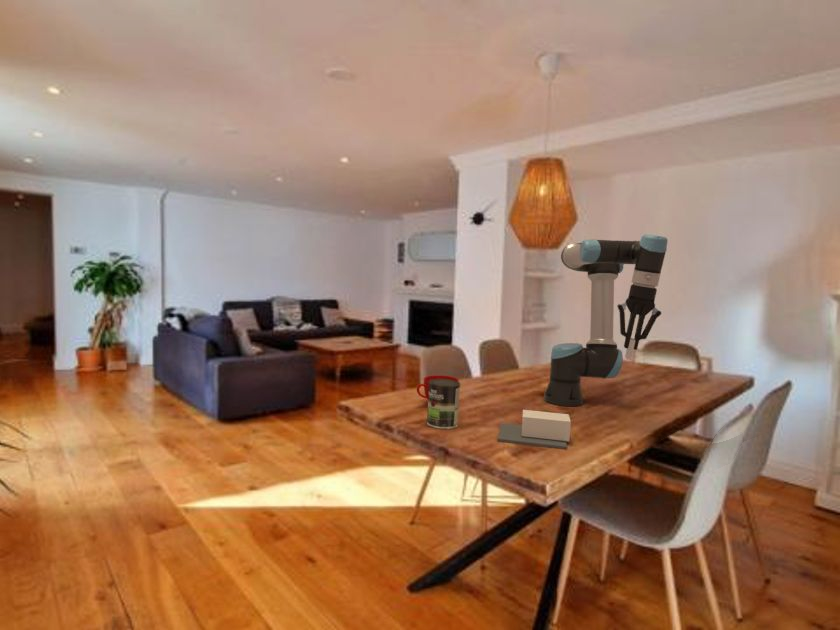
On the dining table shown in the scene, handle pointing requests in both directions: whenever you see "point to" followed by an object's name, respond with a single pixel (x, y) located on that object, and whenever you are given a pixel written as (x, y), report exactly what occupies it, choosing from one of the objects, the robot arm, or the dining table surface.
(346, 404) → the dining table surface
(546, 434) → the cream block
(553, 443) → the charcoal mat
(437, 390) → the coffee can
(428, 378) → the ceramic cup
